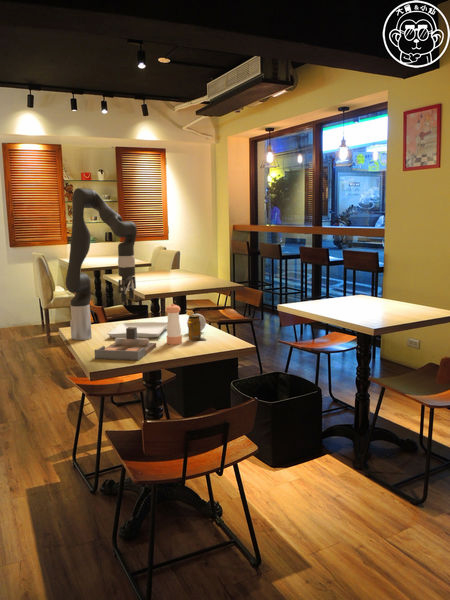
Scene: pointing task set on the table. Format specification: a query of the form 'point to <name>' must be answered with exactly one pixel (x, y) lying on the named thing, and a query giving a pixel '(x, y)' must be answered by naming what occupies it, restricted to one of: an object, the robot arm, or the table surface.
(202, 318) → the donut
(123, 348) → the board
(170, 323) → the pepper shaker
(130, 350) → the tile right
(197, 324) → the condiment
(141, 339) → the gray bar with block
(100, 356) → the box
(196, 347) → the table surface
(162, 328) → the square plate
